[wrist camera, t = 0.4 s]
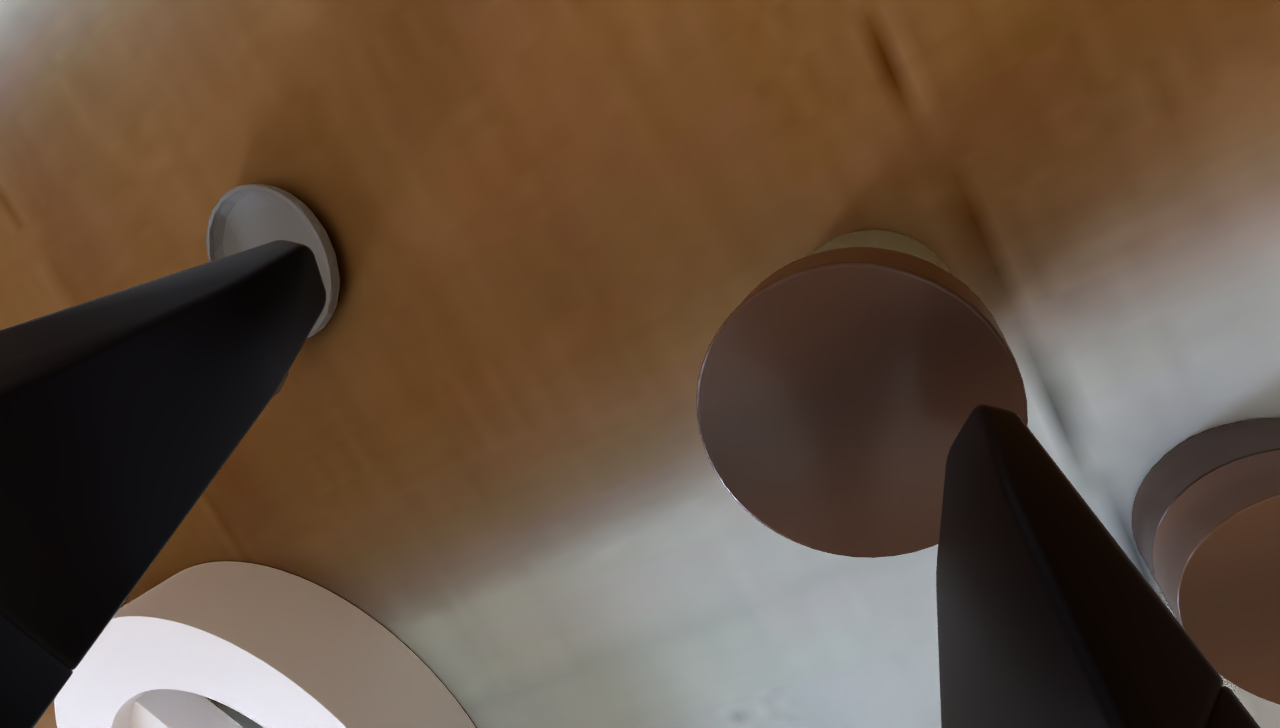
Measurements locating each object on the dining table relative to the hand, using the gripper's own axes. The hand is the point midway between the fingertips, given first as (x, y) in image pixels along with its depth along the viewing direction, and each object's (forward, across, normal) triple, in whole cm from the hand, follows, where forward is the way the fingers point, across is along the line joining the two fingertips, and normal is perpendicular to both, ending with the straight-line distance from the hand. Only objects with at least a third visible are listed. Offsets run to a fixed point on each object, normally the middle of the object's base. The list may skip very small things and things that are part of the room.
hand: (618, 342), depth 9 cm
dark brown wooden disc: (+6, -4, +5) cm, 8 cm away
